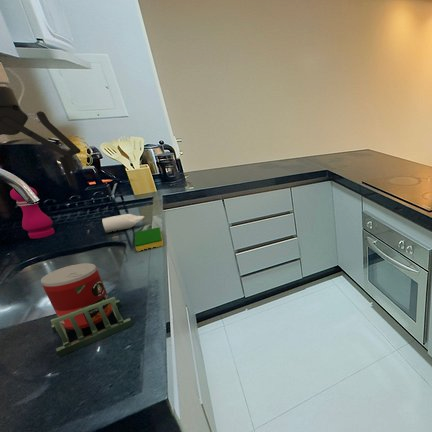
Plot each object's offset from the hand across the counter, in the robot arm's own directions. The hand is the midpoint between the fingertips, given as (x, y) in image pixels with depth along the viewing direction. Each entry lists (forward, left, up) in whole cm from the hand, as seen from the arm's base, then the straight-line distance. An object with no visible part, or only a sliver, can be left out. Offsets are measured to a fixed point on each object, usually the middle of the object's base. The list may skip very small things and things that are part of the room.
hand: (29, 191), depth 64 cm
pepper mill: (-48, +37, -27) cm, 66 cm away
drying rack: (+16, -12, -27) cm, 33 cm away
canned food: (+15, -12, -25) cm, 31 cm away
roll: (-21, +43, -27) cm, 55 cm away
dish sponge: (-4, +30, -27) cm, 41 cm away
